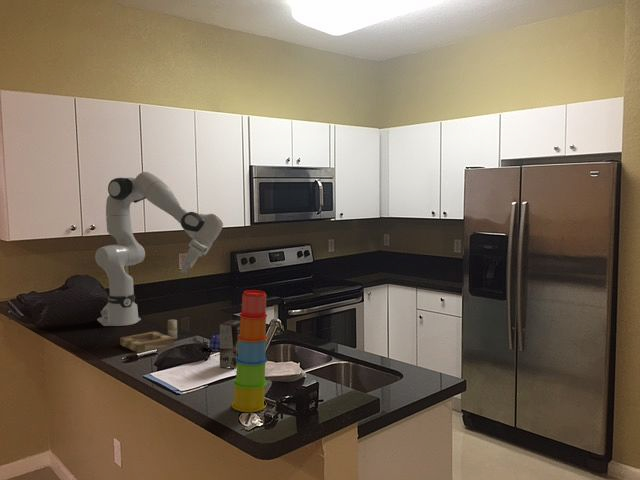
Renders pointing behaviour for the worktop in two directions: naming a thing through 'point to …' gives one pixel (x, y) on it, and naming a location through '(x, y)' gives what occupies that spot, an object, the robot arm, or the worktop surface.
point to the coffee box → (229, 343)
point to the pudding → (215, 343)
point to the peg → (172, 328)
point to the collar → (146, 341)
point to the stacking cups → (251, 354)
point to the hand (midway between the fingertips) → (181, 273)
